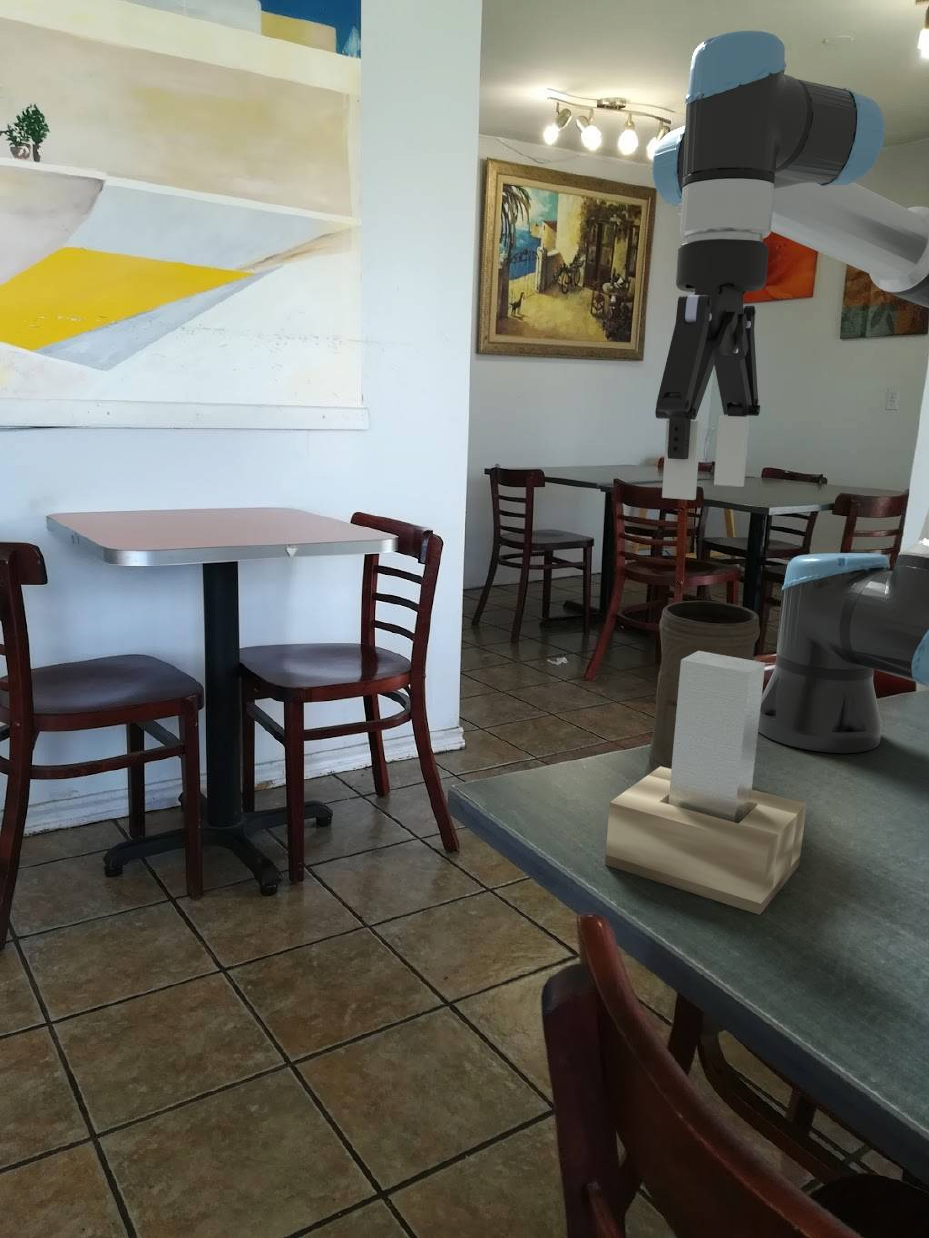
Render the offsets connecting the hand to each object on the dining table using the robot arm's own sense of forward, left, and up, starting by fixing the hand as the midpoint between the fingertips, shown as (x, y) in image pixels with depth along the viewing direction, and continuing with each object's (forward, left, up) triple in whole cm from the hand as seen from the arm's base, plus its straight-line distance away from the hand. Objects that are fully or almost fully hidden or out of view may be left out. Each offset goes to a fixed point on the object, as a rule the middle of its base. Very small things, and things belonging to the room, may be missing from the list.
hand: (705, 492), depth 89 cm
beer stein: (-12, -3, -33) cm, 35 cm away
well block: (+6, +5, -33) cm, 34 cm away
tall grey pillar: (+6, +5, -32) cm, 33 cm away
